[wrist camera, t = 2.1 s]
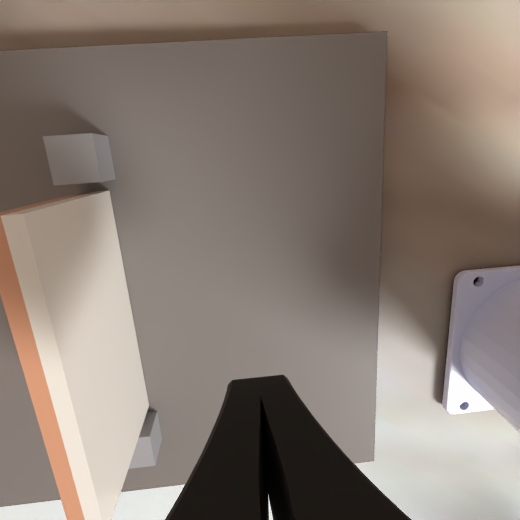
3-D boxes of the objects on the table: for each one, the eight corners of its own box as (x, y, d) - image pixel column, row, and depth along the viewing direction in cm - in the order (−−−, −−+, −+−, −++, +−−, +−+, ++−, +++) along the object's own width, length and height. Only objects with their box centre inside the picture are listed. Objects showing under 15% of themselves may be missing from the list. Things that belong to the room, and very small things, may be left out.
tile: (109, 190, 14) (23, 214, 8) (149, 405, 17) (106, 535, 11) (83, 192, 14) (-23, 217, 8) (127, 407, 17) (73, 540, 11)
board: (376, 39, 14) (408, 14, 12) (367, 446, 20) (386, 487, 17) (-218, 70, 13) (-327, 49, 10) (-46, 495, 18) (-89, 548, 16)
